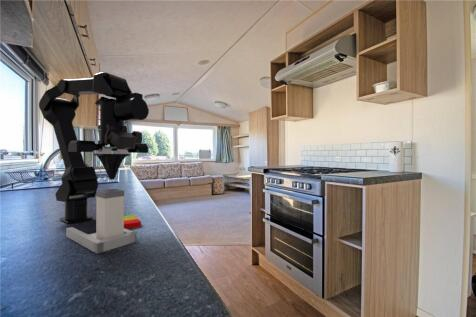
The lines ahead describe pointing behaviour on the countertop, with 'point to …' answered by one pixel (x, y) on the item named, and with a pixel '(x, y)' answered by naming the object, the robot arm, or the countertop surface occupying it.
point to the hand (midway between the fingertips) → (112, 179)
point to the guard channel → (96, 244)
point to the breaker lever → (109, 213)
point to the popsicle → (131, 222)
